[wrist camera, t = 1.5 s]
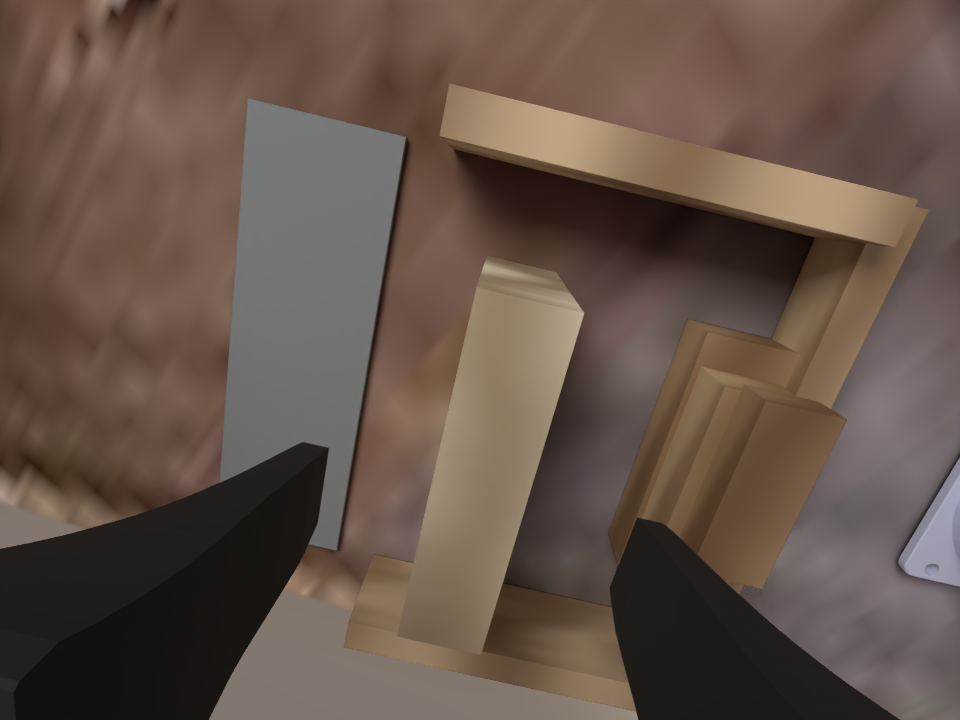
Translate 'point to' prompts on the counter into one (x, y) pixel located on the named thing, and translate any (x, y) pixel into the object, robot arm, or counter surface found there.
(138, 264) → the counter surface
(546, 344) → the wooden block
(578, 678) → the rack
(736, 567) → the offcuts
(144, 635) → the robot arm
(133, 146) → the counter surface
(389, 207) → the mat
